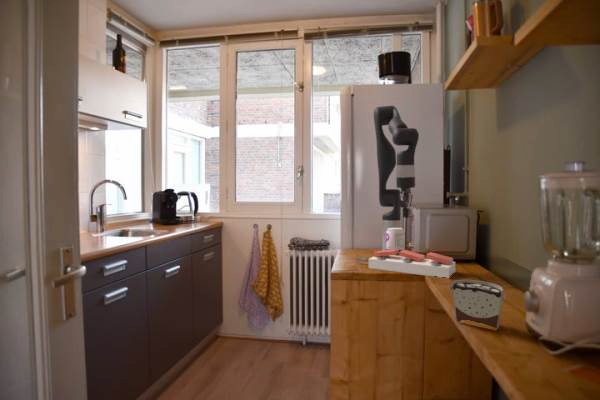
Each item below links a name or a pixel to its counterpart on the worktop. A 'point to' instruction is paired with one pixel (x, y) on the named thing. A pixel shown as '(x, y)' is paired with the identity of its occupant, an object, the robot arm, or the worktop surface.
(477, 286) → the food container
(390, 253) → the rocker
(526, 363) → the worktop surface
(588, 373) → the worktop surface
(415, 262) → the power strip
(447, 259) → the rocker
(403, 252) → the rocker middle
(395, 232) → the supplement can
